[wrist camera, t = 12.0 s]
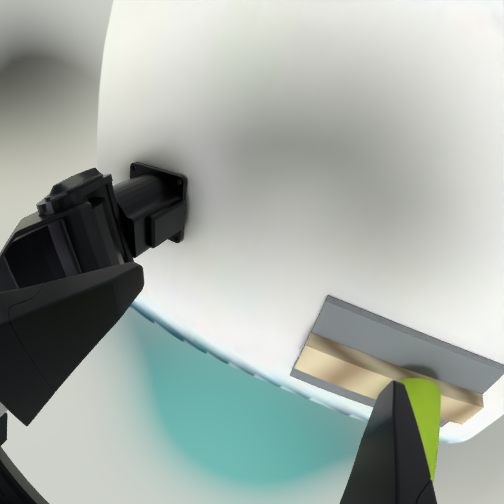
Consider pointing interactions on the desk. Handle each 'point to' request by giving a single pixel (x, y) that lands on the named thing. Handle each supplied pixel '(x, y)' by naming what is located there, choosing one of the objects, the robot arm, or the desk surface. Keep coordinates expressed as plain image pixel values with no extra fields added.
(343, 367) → the ridge
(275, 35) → the desk surface
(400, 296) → the desk surface
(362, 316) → the base board
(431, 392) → the soap dispenser
